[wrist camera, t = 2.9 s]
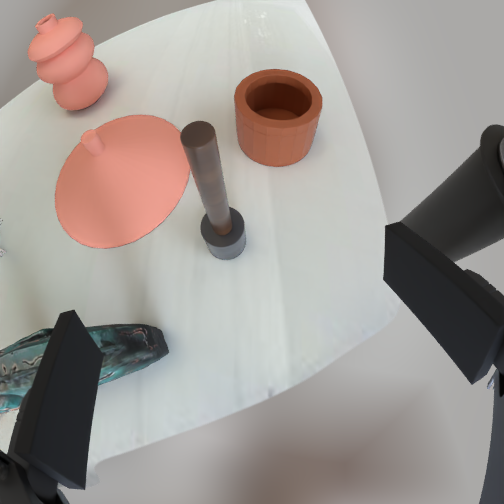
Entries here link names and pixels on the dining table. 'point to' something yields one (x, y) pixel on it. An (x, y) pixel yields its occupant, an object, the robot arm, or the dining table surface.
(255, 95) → the jar
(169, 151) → the ceramic vessels
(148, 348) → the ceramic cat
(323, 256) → the dining table surface
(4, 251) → the test tube brush
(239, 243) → the pestle
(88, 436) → the robot arm
